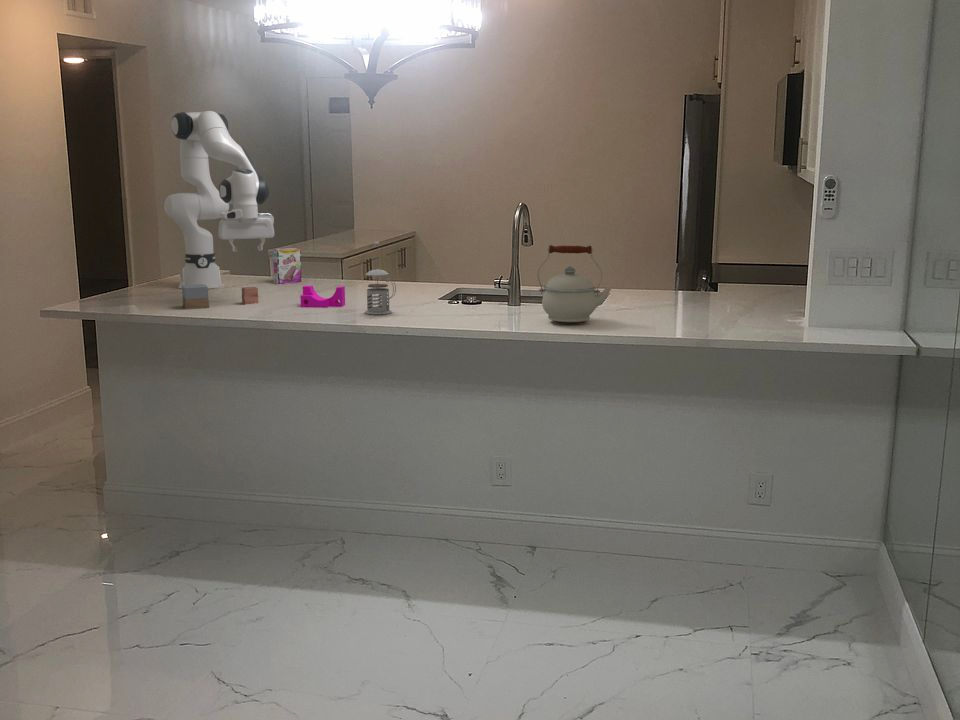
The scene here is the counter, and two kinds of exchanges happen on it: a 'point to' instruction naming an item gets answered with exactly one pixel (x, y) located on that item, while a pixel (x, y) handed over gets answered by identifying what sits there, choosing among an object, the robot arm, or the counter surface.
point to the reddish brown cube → (249, 295)
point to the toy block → (315, 300)
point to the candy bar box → (287, 265)
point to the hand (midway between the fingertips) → (247, 250)
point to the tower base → (195, 303)
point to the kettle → (571, 291)
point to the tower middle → (194, 291)
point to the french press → (378, 290)
